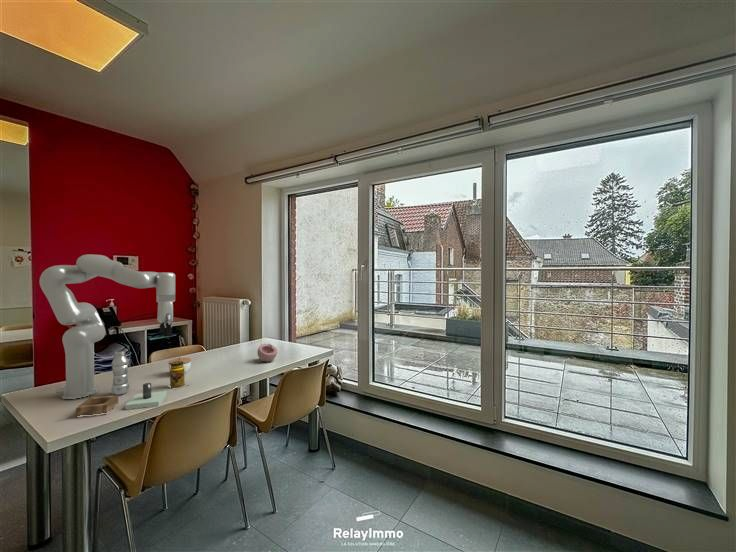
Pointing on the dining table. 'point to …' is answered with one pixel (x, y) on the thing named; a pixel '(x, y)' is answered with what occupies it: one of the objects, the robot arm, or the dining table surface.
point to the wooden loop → (97, 405)
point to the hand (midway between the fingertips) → (165, 334)
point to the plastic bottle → (120, 373)
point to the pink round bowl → (267, 352)
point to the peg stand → (146, 398)
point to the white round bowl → (185, 363)
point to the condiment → (177, 375)
